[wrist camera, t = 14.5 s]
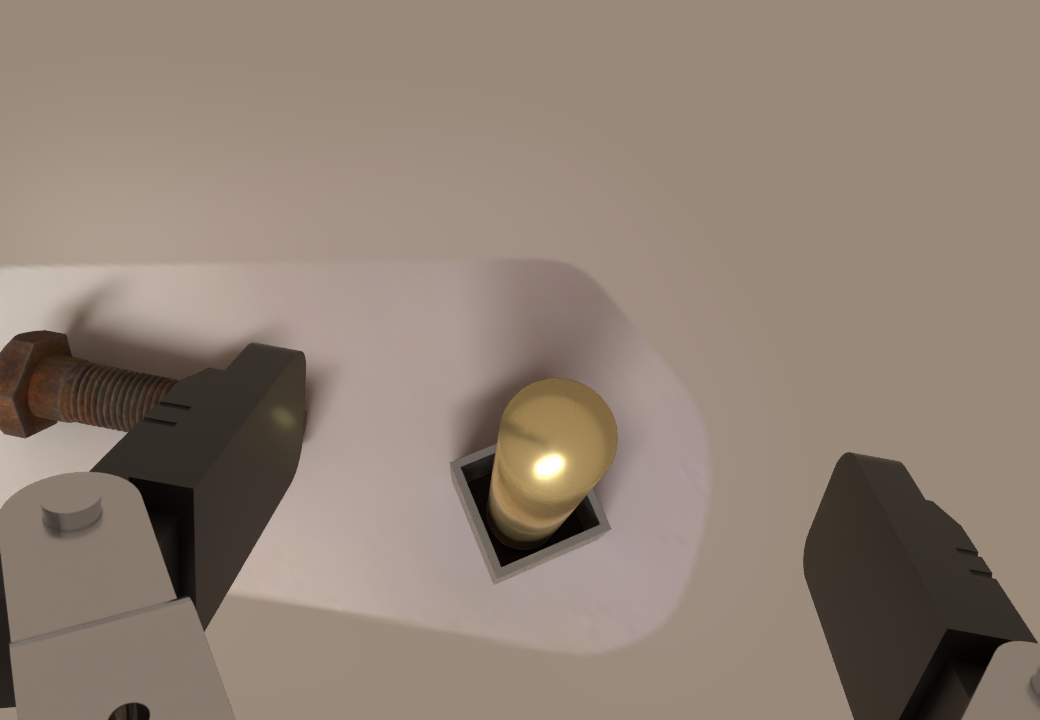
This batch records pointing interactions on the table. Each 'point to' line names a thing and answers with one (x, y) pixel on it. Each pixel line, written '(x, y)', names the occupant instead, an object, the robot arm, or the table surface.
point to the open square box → (461, 474)
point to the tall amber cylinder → (547, 459)
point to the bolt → (70, 388)
